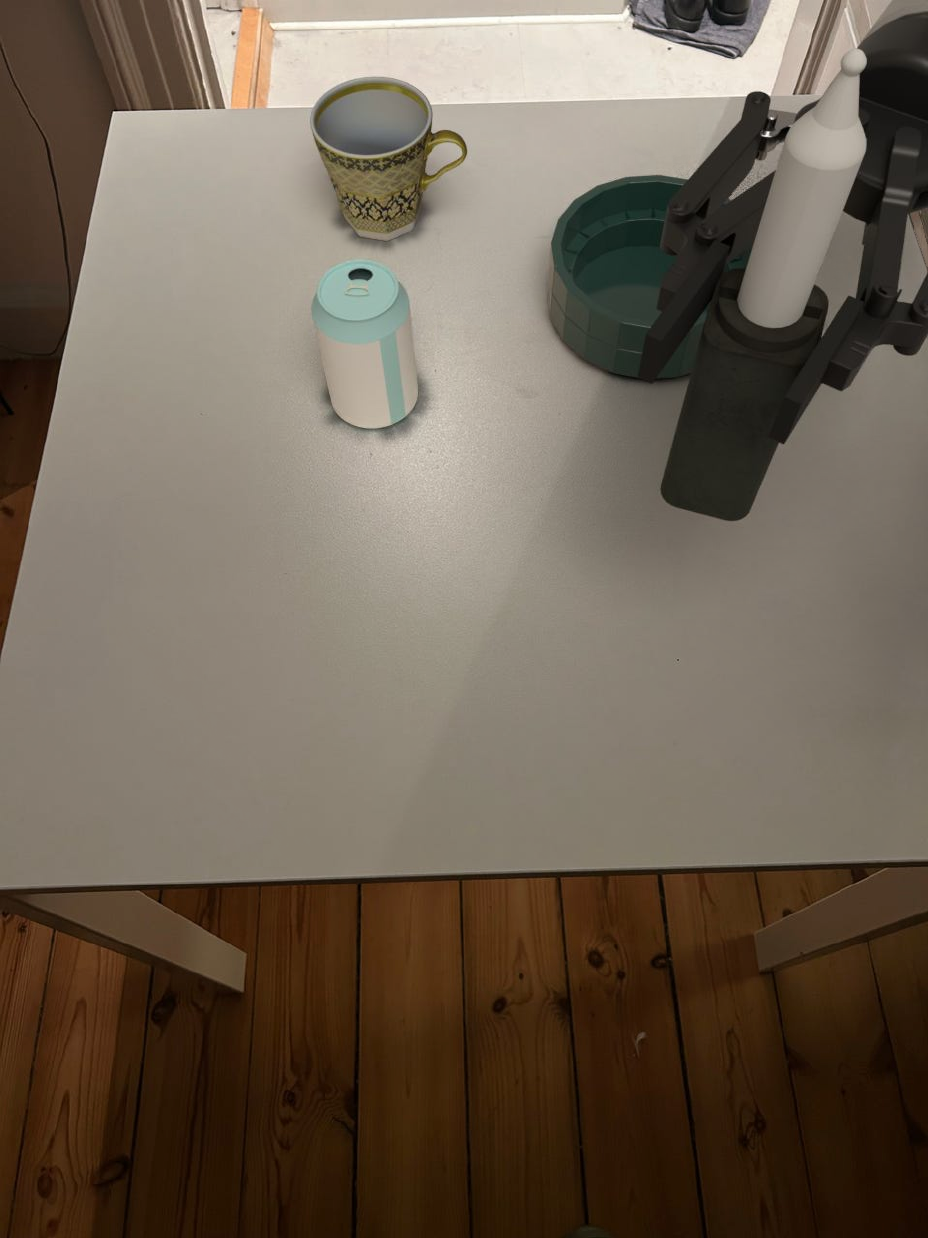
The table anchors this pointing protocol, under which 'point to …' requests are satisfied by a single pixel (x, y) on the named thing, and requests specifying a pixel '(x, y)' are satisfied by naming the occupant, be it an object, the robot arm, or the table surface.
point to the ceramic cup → (378, 152)
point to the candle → (766, 313)
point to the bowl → (617, 274)
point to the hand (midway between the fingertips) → (716, 388)
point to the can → (366, 343)
